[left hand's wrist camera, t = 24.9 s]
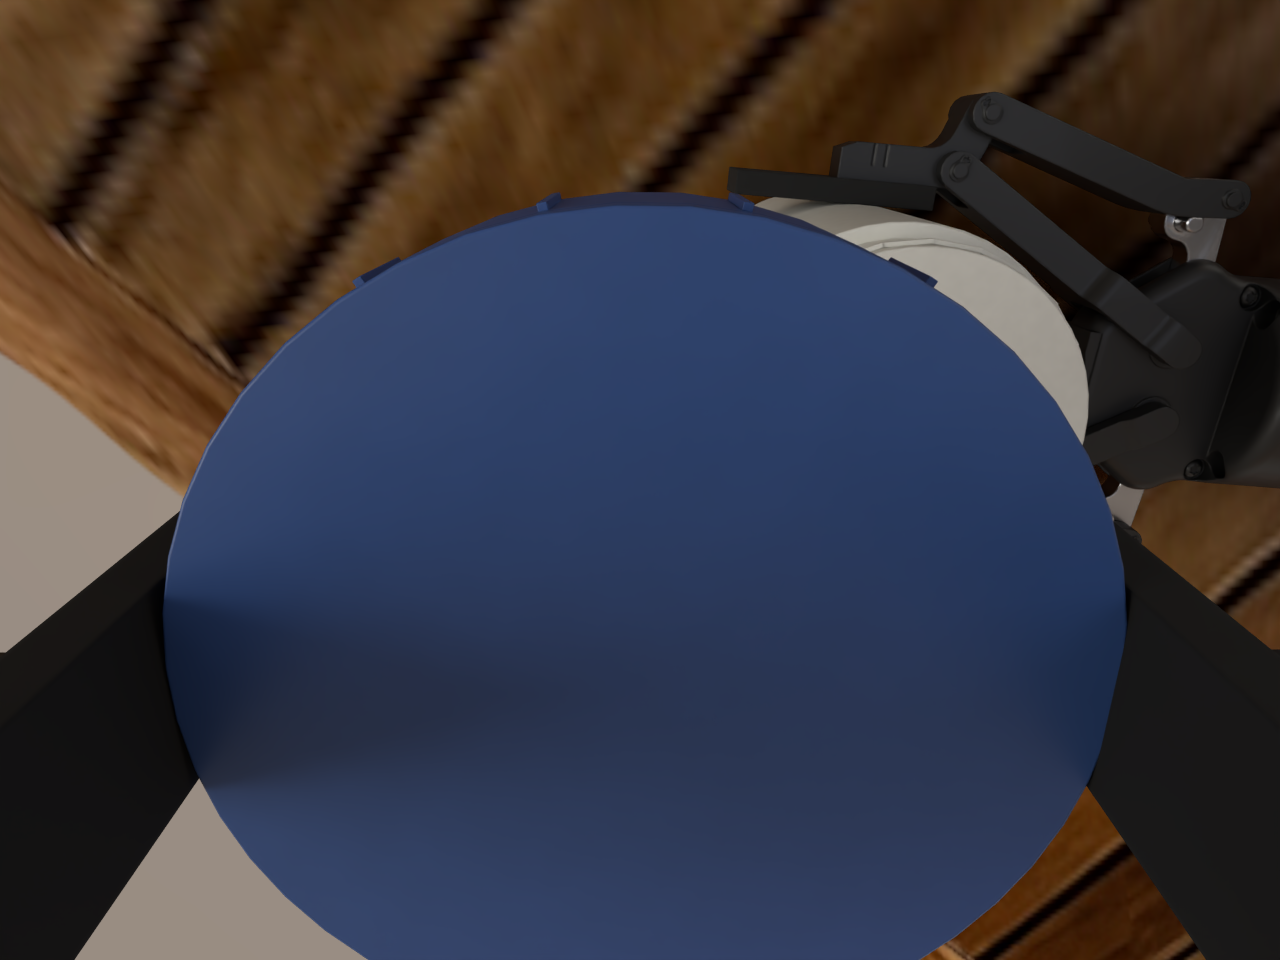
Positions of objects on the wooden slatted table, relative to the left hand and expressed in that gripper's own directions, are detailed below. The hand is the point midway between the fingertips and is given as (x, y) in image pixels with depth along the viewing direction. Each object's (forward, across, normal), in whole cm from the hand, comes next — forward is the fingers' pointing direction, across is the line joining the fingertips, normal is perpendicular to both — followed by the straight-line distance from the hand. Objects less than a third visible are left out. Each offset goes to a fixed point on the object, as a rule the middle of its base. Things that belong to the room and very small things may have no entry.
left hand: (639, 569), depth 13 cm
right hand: (+20, +3, -1) cm, 20 cm away
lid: (-3, 0, 0) cm, 3 cm away
